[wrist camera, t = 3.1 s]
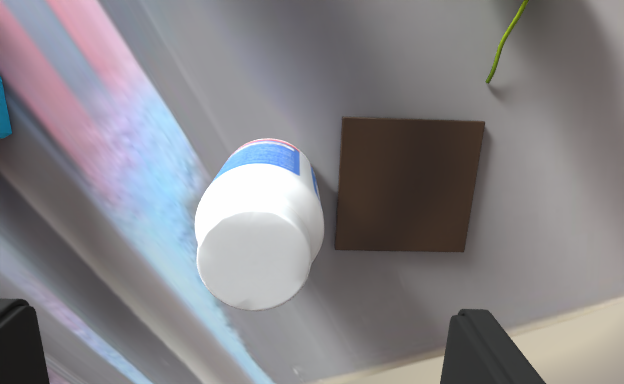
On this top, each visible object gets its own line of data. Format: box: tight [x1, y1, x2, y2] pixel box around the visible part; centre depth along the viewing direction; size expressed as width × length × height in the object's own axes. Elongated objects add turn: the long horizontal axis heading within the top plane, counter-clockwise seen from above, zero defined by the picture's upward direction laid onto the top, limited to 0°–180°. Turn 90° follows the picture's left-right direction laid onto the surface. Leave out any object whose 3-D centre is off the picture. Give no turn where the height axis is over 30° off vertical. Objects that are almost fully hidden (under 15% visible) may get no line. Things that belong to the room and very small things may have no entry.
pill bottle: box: [195, 139, 324, 311], centre depth 18 cm, size 6×5×10 cm
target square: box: [335, 117, 485, 252], centre depth 23 cm, size 8×8×1 cm
